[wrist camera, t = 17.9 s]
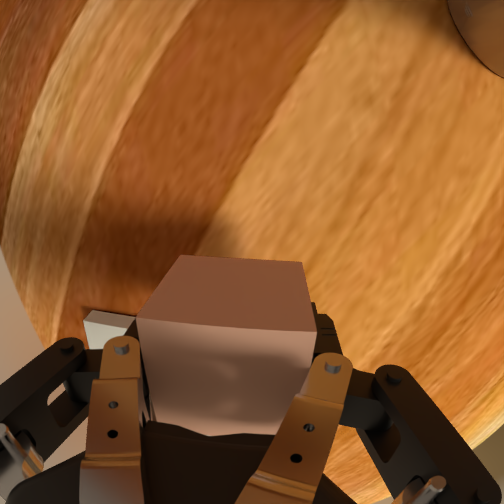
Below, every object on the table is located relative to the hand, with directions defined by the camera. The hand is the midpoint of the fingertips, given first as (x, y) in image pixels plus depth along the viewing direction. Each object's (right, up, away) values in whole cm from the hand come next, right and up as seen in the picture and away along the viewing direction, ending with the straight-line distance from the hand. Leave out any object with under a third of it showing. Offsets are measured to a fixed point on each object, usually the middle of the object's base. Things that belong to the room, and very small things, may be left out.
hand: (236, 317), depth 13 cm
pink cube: (0, 0, +1) cm, 1 cm away
